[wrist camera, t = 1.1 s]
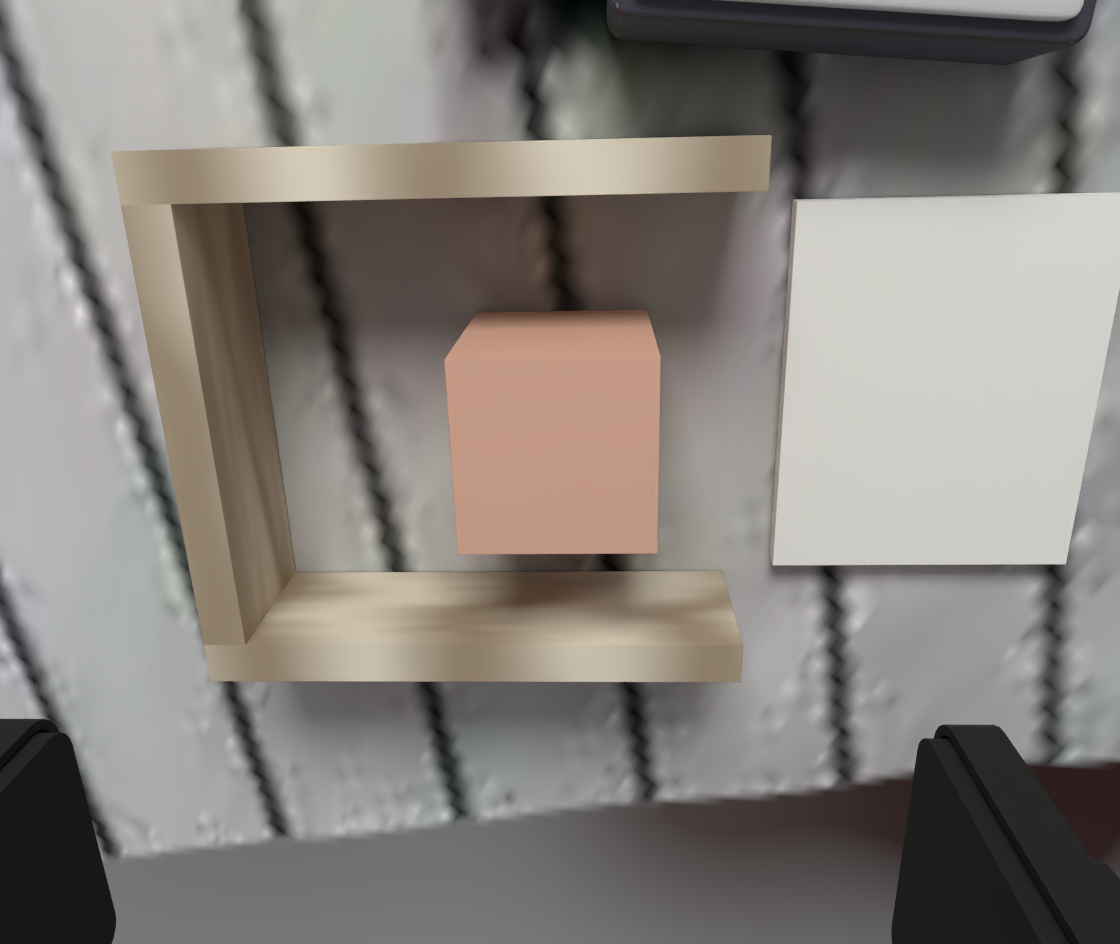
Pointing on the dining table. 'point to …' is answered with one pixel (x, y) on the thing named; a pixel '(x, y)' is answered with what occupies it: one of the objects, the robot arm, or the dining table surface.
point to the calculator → (862, 26)
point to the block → (555, 432)
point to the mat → (941, 376)
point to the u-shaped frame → (252, 452)
